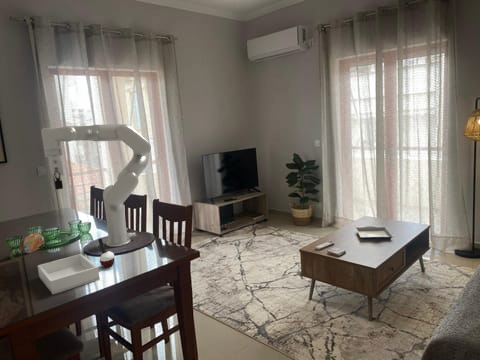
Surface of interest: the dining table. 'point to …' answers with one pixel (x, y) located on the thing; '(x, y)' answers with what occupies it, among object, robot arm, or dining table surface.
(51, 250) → the dining table surface
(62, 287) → the box
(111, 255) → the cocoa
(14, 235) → the dining table surface
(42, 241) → the tin
